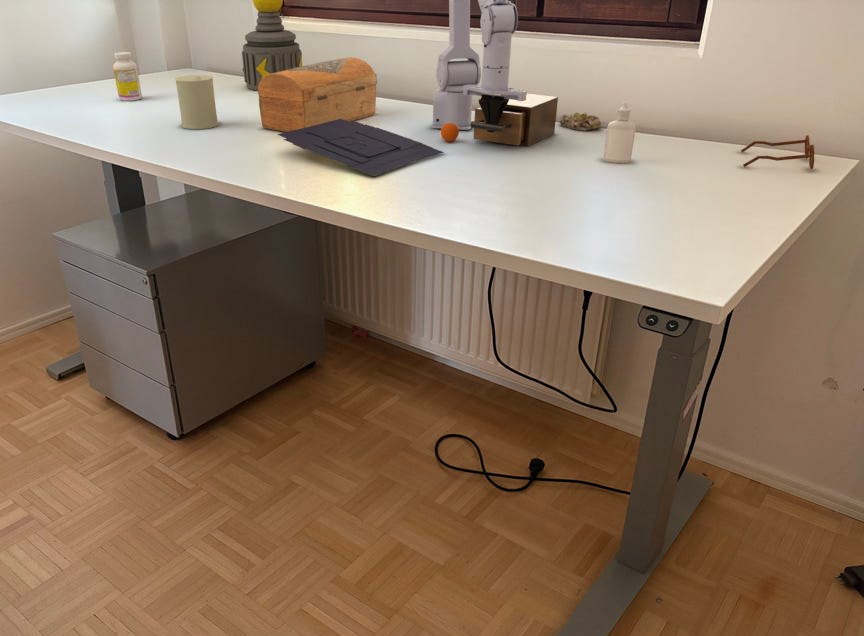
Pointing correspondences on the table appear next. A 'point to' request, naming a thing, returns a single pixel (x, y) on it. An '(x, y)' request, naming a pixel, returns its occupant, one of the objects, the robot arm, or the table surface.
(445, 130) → the ball
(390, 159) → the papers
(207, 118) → the can
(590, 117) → the mineral rock
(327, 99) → the wooden box
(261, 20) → the decorative lamp
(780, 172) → the table surface
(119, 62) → the supplement bottle
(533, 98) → the cabinet
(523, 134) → the drawer
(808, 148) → the glasses
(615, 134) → the eye dropper bottle
